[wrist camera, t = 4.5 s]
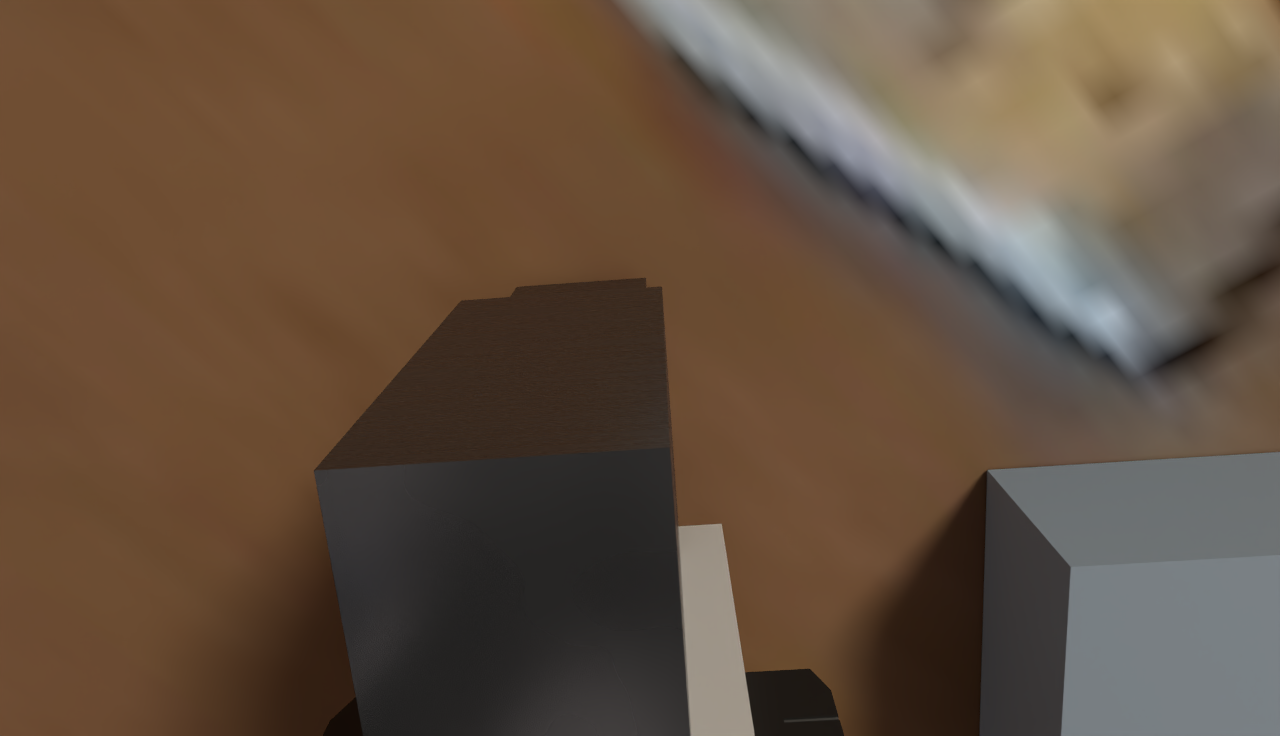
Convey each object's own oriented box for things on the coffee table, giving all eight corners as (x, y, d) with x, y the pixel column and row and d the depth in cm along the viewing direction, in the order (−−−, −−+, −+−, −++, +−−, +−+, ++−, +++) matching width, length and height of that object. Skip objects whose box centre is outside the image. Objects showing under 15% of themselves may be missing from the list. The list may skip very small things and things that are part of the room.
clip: (559, 778, 21) (480, 1368, 11) (497, 258, 18) (314, 471, 8) (695, 770, 21) (734, 1360, 11) (660, 247, 18) (670, 447, 8)
